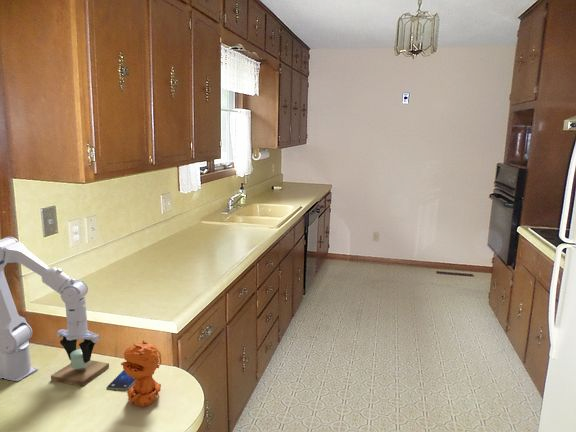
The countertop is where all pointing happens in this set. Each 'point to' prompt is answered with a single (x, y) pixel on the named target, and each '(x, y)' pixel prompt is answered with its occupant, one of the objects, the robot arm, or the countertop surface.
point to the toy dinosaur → (142, 372)
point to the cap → (77, 359)
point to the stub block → (80, 373)
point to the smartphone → (121, 382)
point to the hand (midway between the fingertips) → (80, 360)
